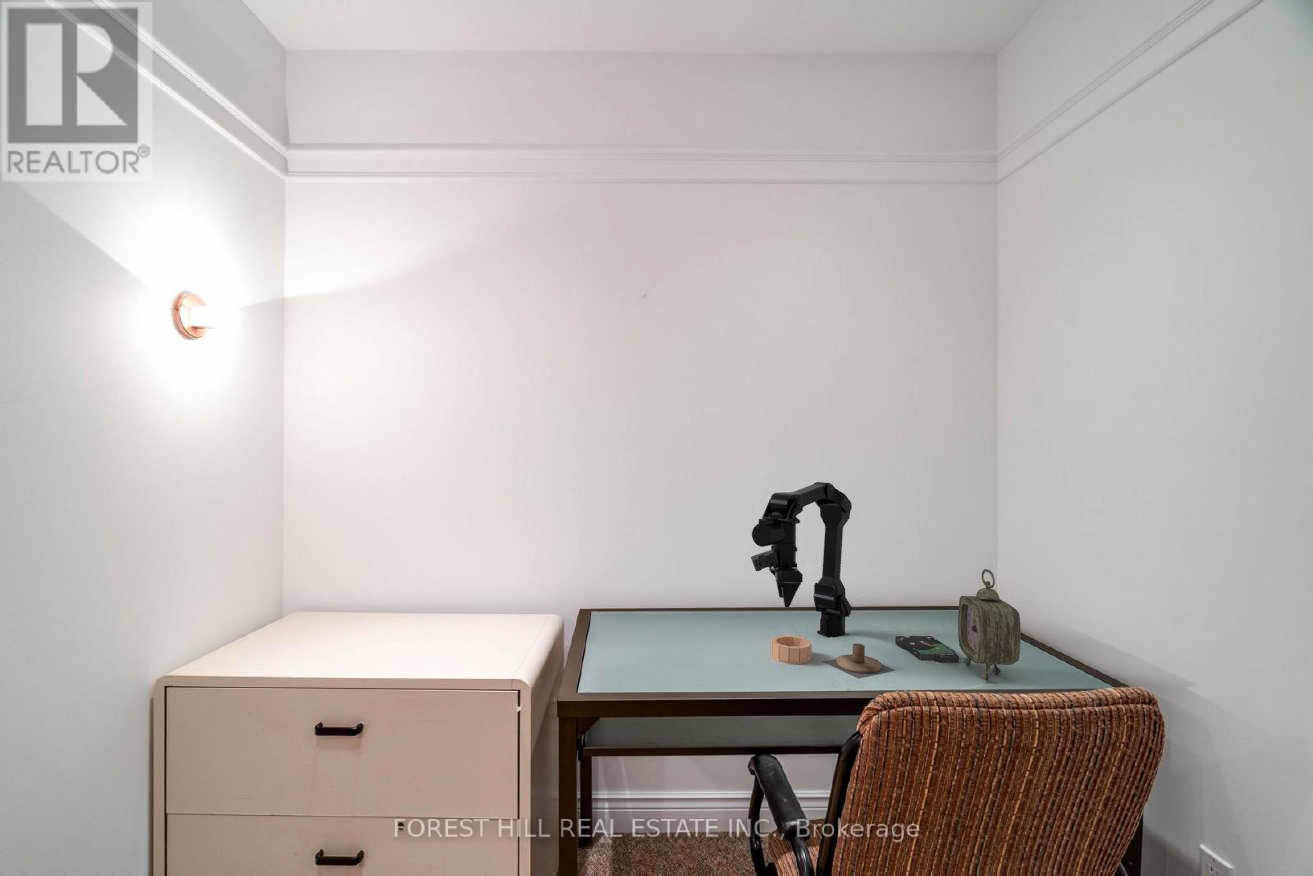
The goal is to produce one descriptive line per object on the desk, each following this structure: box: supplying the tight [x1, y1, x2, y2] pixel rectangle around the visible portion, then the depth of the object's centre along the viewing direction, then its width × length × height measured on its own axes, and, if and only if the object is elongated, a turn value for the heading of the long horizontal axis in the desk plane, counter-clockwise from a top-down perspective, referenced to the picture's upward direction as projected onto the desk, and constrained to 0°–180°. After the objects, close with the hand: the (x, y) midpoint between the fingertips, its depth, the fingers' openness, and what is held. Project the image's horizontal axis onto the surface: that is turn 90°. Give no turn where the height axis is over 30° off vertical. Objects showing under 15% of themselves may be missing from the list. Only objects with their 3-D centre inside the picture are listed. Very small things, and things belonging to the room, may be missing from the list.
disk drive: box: [894, 635, 960, 663], centre depth 168 cm, size 10×3×15 cm
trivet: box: [822, 658, 896, 679], centre depth 156 cm, size 12×12×1 cm
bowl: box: [770, 635, 813, 665], centre depth 162 cm, size 10×10×4 cm
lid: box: [835, 643, 882, 674], centre depth 156 cm, size 10×10×5 cm
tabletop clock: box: [957, 568, 1022, 682], centre depth 154 cm, size 14×9×25 cm, turn 174°
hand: (784, 602), depth 165 cm, fingers open, 9 cm apart
